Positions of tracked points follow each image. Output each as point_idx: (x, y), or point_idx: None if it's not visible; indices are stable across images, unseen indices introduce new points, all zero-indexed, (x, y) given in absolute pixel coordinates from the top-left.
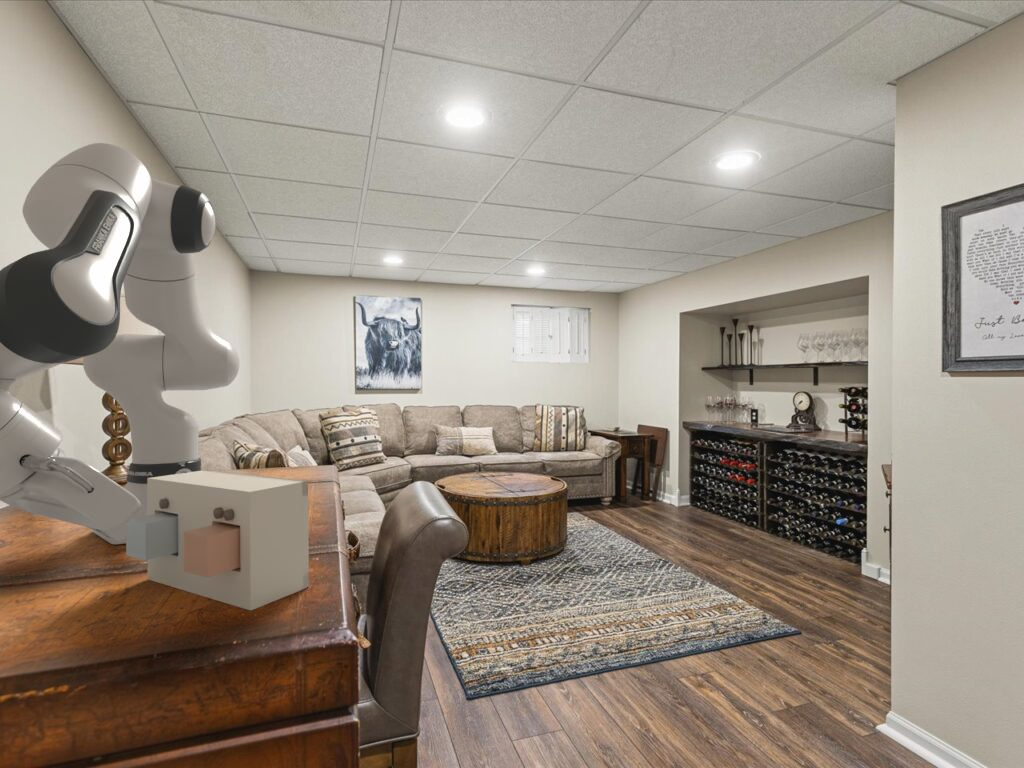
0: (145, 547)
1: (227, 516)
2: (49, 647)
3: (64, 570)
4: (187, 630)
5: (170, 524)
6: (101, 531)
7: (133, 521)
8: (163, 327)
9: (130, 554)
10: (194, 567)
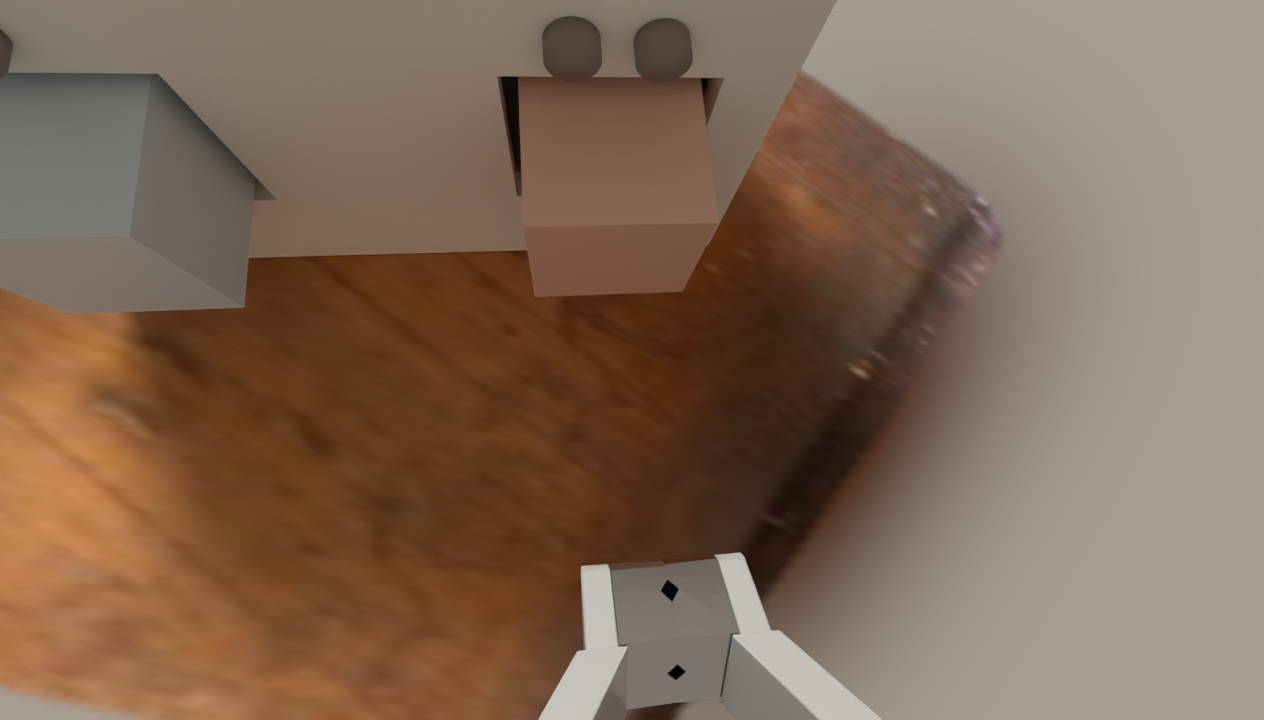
0: (211, 287)
1: (668, 65)
2: (459, 679)
3: None
4: (688, 401)
5: (167, 135)
6: (687, 698)
7: None
8: None
9: (101, 309)
10: (603, 285)
